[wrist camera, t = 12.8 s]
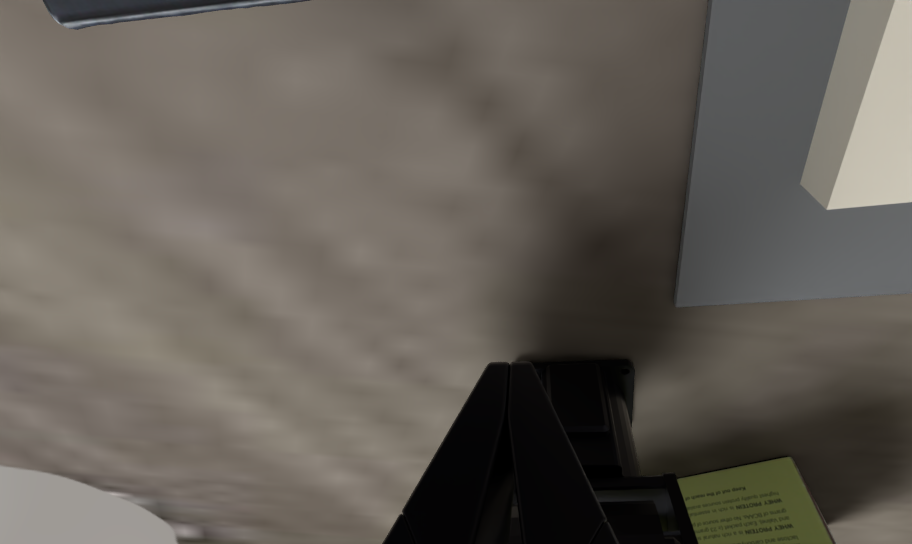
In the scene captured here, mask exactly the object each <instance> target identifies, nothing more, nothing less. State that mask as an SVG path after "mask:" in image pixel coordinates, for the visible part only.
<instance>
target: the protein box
mask: <svg viewBox="0 0 912 544" xmlns="http://www.w3.org/2000/svg"><path fill="white" fill-rule="evenodd" d="M677 481H678V484H679V487H680V490H681V493H682V496H683V499H684V502H685V505H686V508H687V511H688V514H689V517H690V520H691V523H692V526H693V529H694V532H695V535H696V537H697V540H698V543H699V544H836V542H835V540H834V538H833V536H832V534H831V532H830V530H829V528H828V526H827V524H826V522H825V520H824V518H823V516H822V514H821V512H820V510H819V508H818V506H817V504H816V502H815V500H814V498H813V496H812V494H811V492H810V490H809V488H808V486H807V484H806V482H805V481H804V479H803V477H802V475H801V473H800V471H799V469H798V467H797V465H796V463H795V462H794V460H793V458H792V457H785V458H779V459H774V460H769V461H764V462H759V463H754V464H749V465H744V466H739V467H735V468H729V469H724V470H719V471H715V472H710V473H705V474H700V475H695V476H689V477H684V478H679V479H677Z"/></svg>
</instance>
